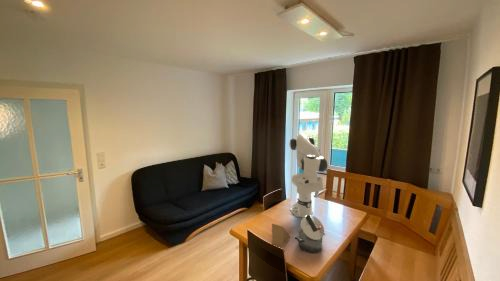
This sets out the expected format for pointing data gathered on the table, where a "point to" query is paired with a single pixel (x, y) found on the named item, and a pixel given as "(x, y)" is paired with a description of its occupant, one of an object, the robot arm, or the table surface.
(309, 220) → the lid
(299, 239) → the cooker pot
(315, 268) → the table surface
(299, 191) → the robot arm
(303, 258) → the table surface
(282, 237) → the sandwich container
